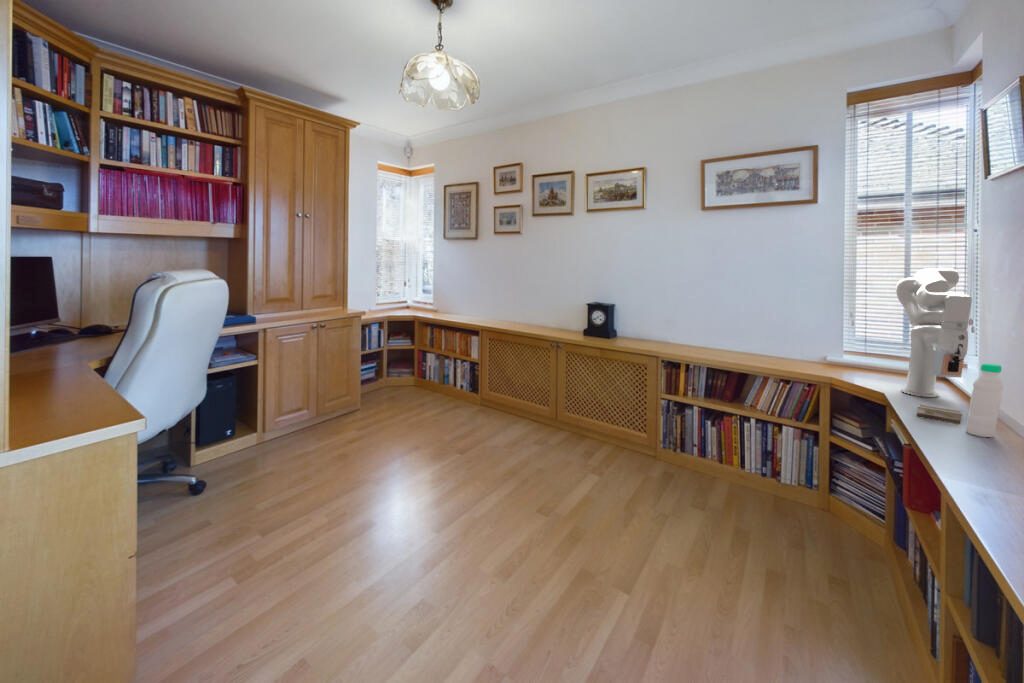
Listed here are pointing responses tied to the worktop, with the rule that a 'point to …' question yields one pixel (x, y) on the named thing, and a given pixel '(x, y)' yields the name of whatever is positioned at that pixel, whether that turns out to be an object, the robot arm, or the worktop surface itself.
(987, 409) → the milk bottle
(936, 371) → the tea carton
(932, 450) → the worktop surface
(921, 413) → the shelf board
